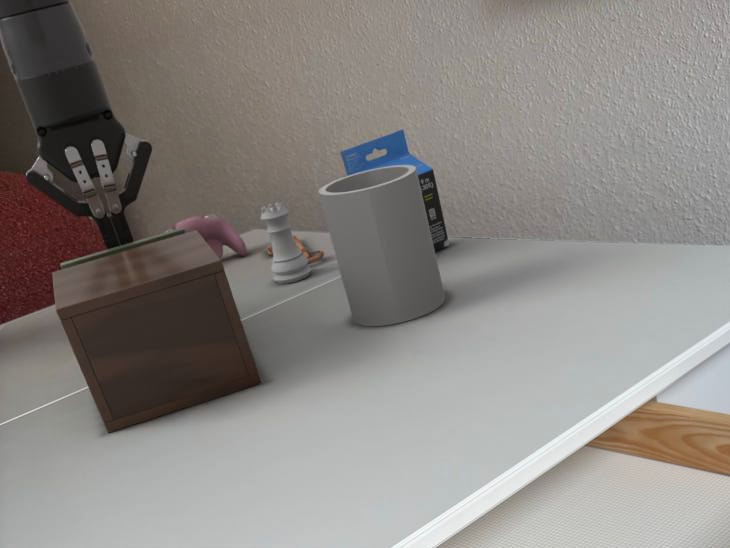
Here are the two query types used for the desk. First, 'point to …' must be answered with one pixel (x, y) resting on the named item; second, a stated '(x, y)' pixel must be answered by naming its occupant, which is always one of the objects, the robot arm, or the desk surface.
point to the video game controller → (214, 233)
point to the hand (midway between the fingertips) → (122, 252)
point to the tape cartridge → (401, 156)
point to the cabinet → (154, 329)
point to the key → (303, 252)
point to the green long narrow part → (122, 248)
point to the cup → (383, 245)
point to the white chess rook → (284, 246)
